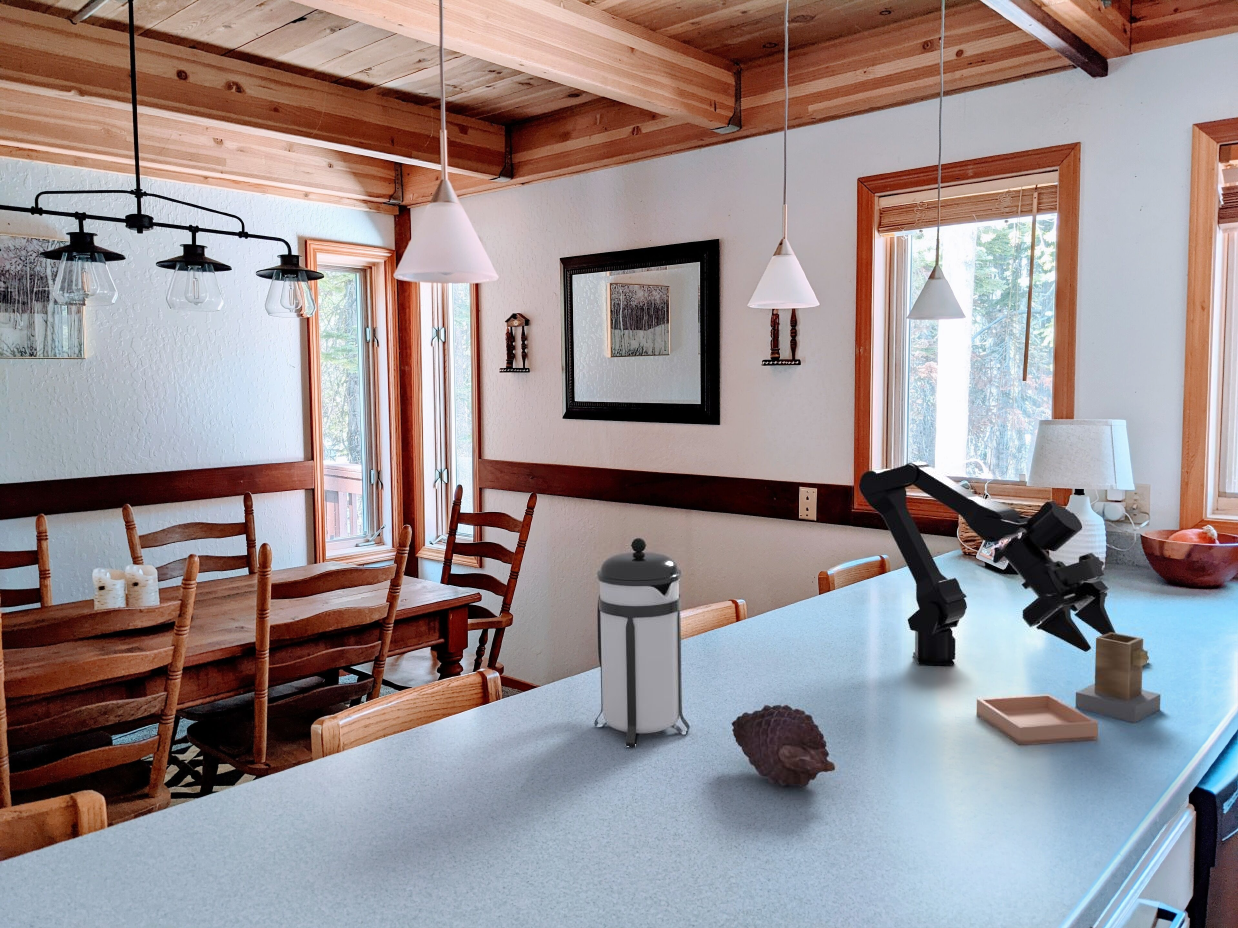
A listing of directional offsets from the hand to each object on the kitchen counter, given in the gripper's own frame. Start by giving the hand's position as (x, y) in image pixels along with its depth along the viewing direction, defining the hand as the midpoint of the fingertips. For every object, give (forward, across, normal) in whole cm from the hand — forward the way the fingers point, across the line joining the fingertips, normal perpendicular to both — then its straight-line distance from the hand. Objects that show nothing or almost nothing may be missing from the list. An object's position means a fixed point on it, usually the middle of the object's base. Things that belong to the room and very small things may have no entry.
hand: (1102, 644), depth 144 cm
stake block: (+9, 0, +5) cm, 10 cm away
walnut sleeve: (+7, 0, +3) cm, 8 cm away
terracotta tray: (+6, -17, +8) cm, 20 cm away
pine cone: (-3, -60, +17) cm, 63 cm away
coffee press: (-22, -64, +36) cm, 77 cm away
